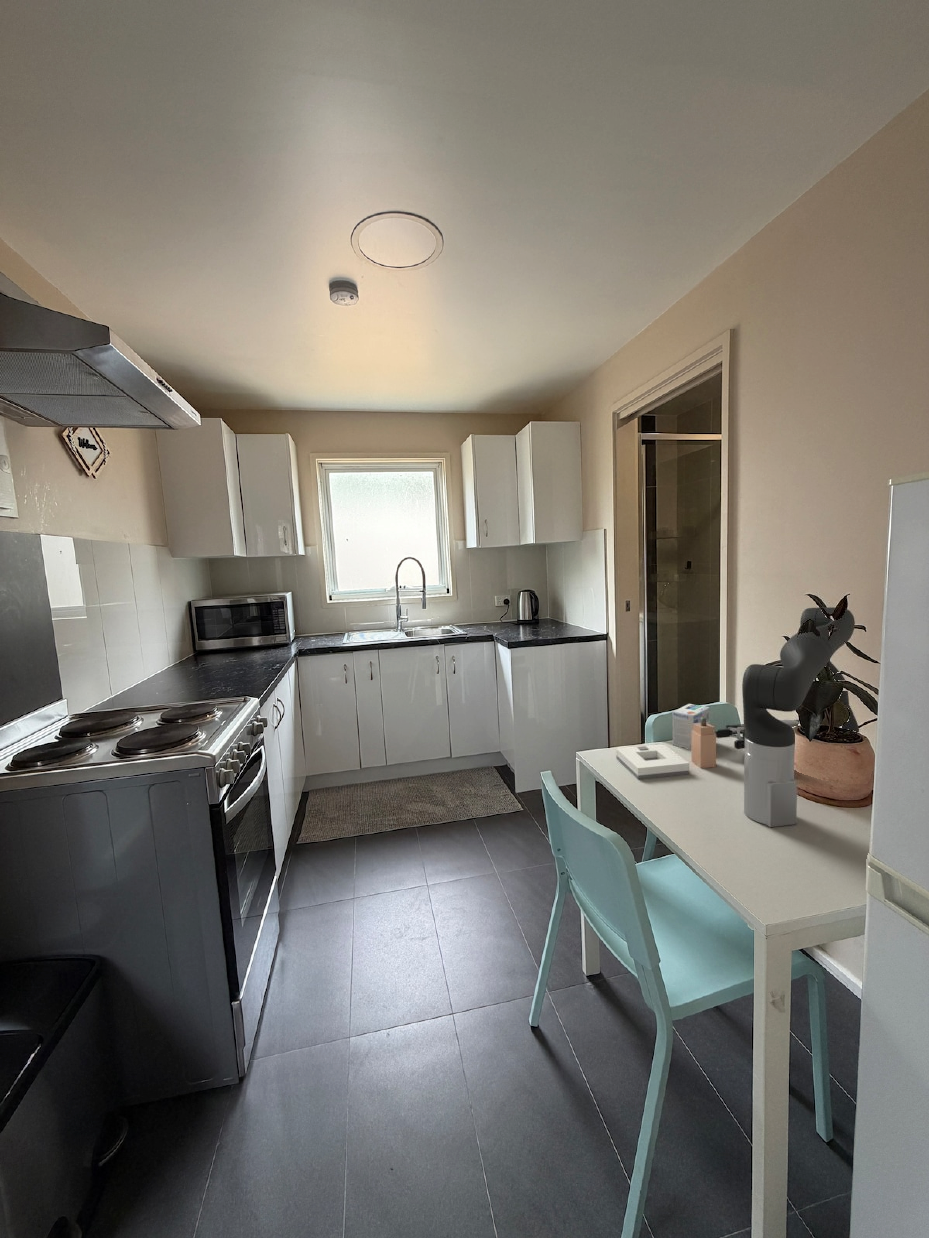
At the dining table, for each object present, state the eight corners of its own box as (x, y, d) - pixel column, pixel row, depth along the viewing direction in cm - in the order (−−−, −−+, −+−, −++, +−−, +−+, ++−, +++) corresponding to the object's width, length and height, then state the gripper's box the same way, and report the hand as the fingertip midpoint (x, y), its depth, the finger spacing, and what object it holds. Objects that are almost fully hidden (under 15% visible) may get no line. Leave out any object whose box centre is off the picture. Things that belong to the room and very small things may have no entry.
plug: (716, 766, 136) (716, 719, 135) (700, 768, 136) (700, 721, 134) (706, 760, 141) (706, 714, 139) (691, 761, 140) (691, 716, 139)
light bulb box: (688, 735, 160) (688, 702, 158) (710, 741, 155) (710, 706, 153) (671, 745, 153) (671, 710, 152) (693, 750, 148) (693, 715, 146)
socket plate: (689, 774, 133) (689, 761, 132) (637, 779, 131) (637, 767, 131) (663, 753, 147) (662, 743, 146) (616, 758, 145) (616, 747, 145)
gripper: (763, 713, 146) (710, 717, 145) (800, 729, 132) (742, 734, 131) (763, 738, 147) (710, 743, 146) (800, 757, 133) (741, 762, 132)
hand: (725, 739), depth 138 cm, fingers open, 8 cm apart
